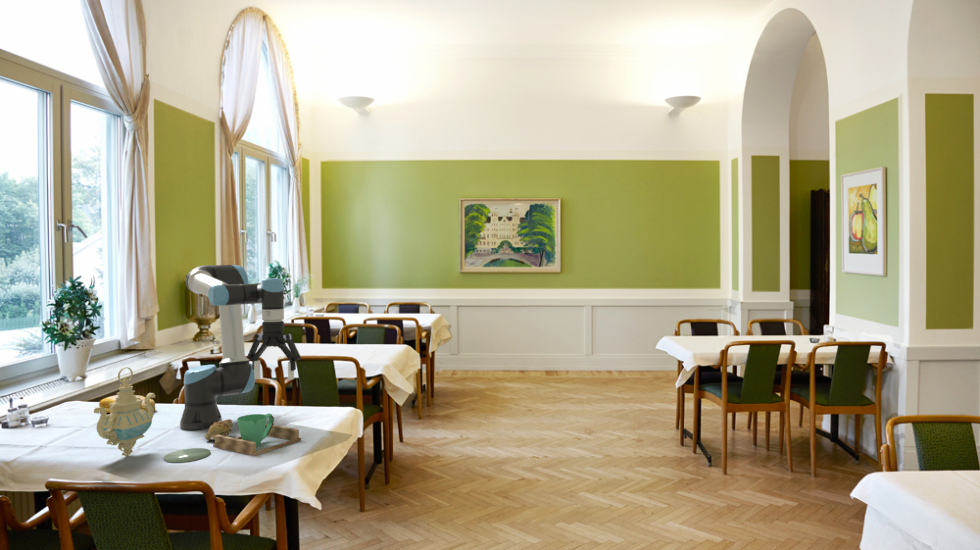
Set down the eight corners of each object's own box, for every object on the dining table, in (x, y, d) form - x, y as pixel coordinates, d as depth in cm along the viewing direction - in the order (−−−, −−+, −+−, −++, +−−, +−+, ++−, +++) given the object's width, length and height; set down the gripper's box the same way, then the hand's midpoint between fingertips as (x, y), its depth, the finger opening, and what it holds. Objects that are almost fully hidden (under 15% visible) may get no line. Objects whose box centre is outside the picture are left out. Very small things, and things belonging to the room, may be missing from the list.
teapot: (112, 468, 193) (109, 374, 193) (82, 466, 196) (79, 373, 195) (168, 446, 216) (166, 362, 216) (141, 445, 219) (139, 361, 219)
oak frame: (213, 446, 216) (213, 435, 216) (260, 433, 233) (260, 422, 233) (254, 455, 205) (254, 443, 204) (300, 440, 222) (300, 429, 222)
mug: (252, 450, 210) (252, 422, 210) (231, 448, 214) (230, 419, 214) (282, 439, 224) (282, 412, 223) (262, 437, 227) (261, 410, 227)
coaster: (154, 458, 203) (154, 456, 203) (194, 447, 215) (194, 445, 215) (180, 465, 196) (179, 463, 196) (219, 453, 208) (219, 451, 208)
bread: (119, 408, 278) (118, 391, 278) (163, 412, 270) (163, 394, 270) (91, 415, 266) (90, 397, 266) (137, 420, 257) (136, 401, 257)
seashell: (208, 443, 228) (218, 417, 233) (229, 447, 229) (239, 421, 233) (200, 437, 220) (211, 411, 225) (223, 442, 220) (233, 415, 225)
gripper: (236, 321, 221) (237, 379, 222) (298, 322, 216) (300, 382, 216) (248, 319, 228) (249, 376, 229) (309, 320, 223) (310, 378, 223)
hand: (274, 379), depth 222 cm, fingers open, 13 cm apart
